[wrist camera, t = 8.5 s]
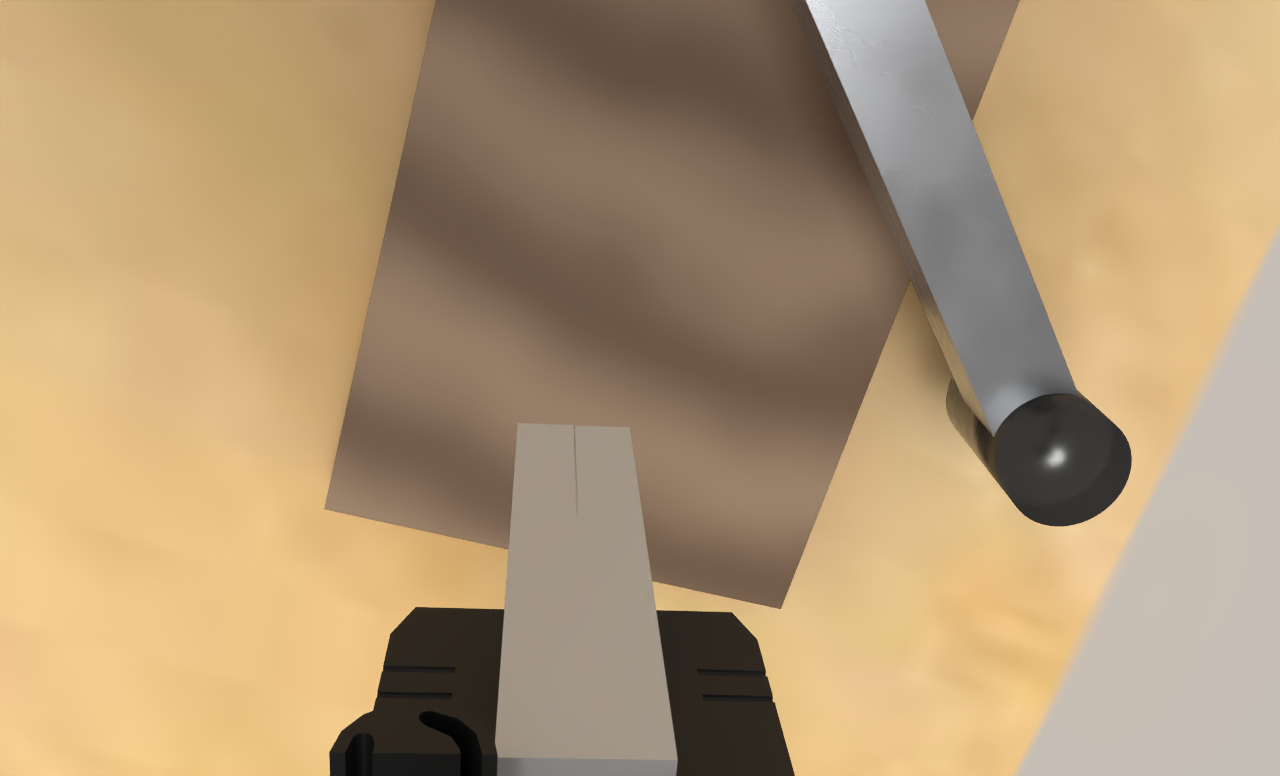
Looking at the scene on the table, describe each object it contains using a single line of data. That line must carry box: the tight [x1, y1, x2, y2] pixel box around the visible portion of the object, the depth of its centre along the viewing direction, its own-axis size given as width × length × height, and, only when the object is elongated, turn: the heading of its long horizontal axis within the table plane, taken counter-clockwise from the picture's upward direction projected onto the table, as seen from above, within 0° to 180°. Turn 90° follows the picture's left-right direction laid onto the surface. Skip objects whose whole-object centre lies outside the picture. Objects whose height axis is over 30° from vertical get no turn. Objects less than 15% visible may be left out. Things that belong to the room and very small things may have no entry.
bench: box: [325, 0, 1020, 609], centre depth 30 cm, size 32×15×6 cm, turn 164°
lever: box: [789, 0, 1132, 526], centre depth 28 cm, size 26×5×5 cm, turn 27°
